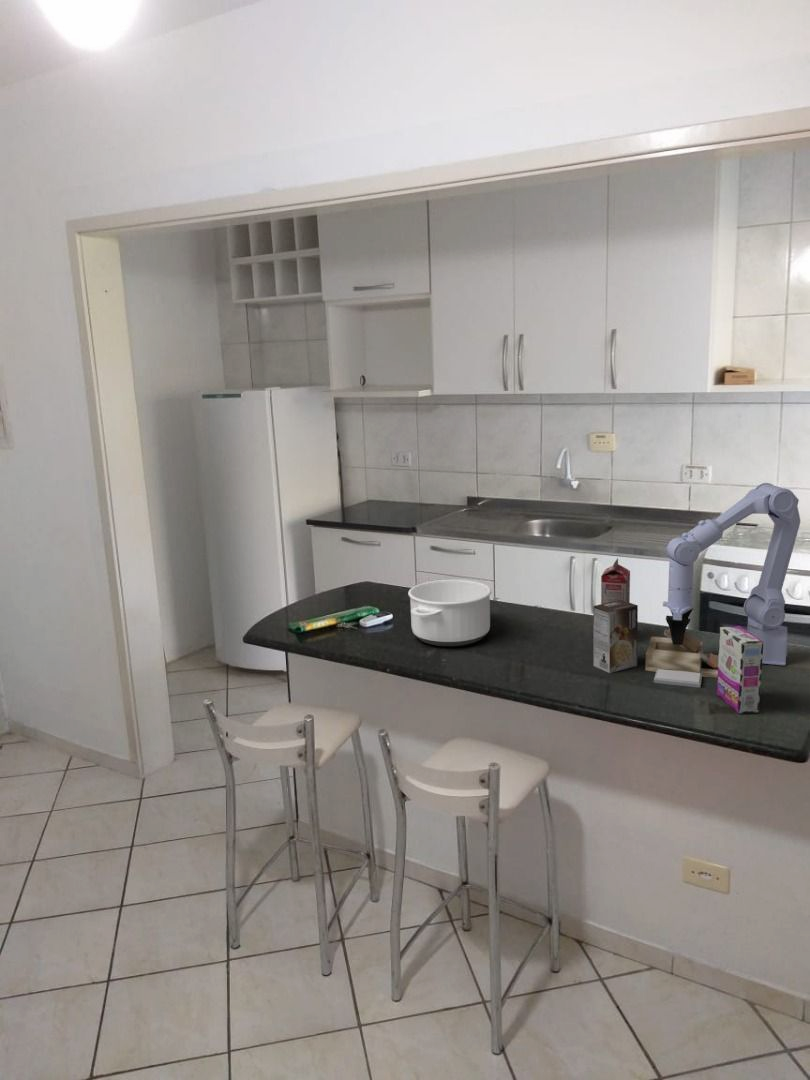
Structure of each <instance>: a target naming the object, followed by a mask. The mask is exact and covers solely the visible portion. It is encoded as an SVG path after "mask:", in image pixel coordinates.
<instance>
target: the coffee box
mask: <svg viewBox="0 0 810 1080" xmlns="http://www.w3.org/2000/svg"><path fill="white" fill-rule="evenodd" d="M592 608H593V667H595V668H597V669H600V670H602V671H604V672H606V673H608V674H612V673H615V672H620V671H624V670H627V669H631V668H634V667H637V666H638V631H639V630H638V627H639V626H638V623H639V622H638V621H639V619H638V618H639V617H638V615H639V612H638V609H639V606H638V605H637V604H635V603H631V602H630V603H629V602H626V601H623V600H618V601H613V602H609V603H604V604H601V603H600V604H596V605H593V607H592Z"/></svg>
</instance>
